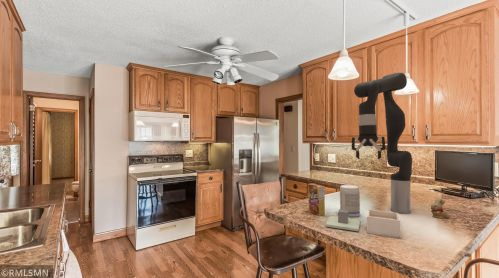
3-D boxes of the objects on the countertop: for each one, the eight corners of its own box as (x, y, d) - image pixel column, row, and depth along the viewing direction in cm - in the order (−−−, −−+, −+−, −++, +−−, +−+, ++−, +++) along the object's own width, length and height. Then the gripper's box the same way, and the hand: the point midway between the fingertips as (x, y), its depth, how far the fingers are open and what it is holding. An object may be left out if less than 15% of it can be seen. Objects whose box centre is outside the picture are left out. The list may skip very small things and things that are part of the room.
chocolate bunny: (430, 214, 129) (430, 195, 129) (449, 217, 125) (449, 197, 125) (431, 217, 124) (431, 197, 124) (451, 220, 120) (451, 199, 120)
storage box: (367, 224, 113) (367, 209, 113) (398, 228, 108) (398, 212, 108) (366, 233, 103) (366, 216, 103) (400, 238, 97) (400, 220, 97)
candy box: (307, 211, 134) (307, 183, 135) (314, 210, 136) (314, 183, 136) (318, 216, 126) (318, 186, 126) (325, 215, 128) (325, 185, 128)
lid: (330, 219, 122) (330, 205, 122) (360, 223, 116) (360, 209, 116) (325, 228, 110) (325, 212, 110) (358, 233, 104) (358, 217, 104)
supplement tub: (363, 215, 128) (363, 187, 128) (352, 218, 122) (352, 188, 122) (347, 210, 136) (347, 184, 136) (336, 213, 130) (336, 186, 131)
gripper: (384, 124, 115) (385, 158, 115) (351, 125, 122) (352, 158, 122) (385, 123, 109) (386, 160, 109) (350, 125, 115) (351, 159, 115)
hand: (368, 159), depth 115 cm, fingers open, 8 cm apart
